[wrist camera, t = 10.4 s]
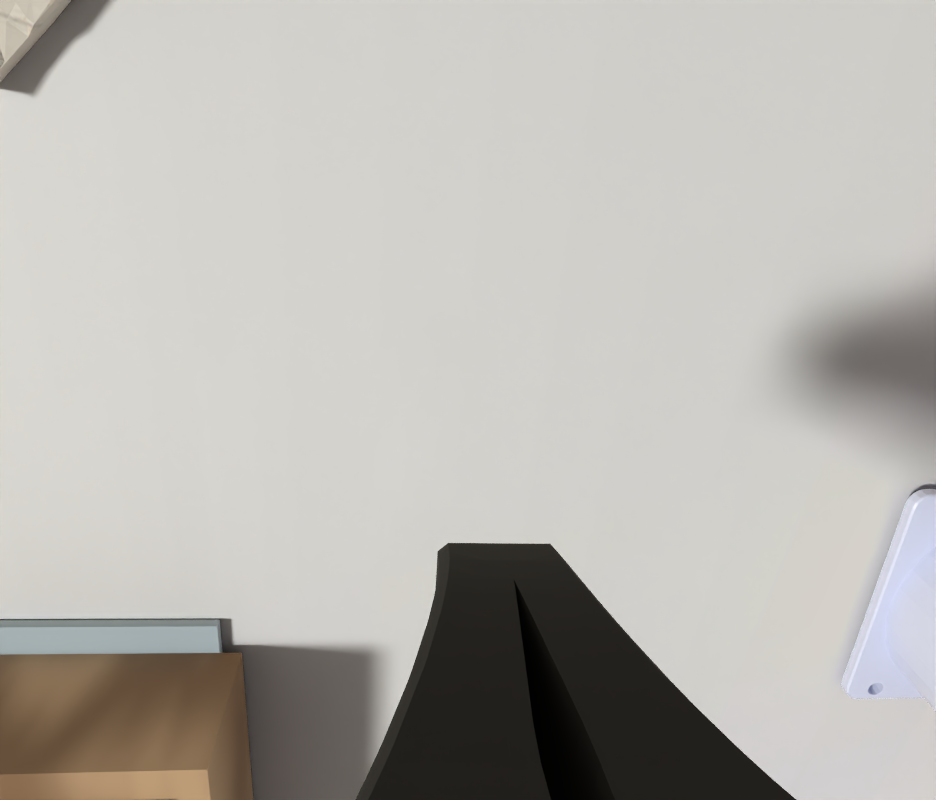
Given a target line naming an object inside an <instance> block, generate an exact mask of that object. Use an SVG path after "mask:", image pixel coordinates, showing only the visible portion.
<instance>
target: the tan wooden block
mask: <svg viewBox="0 0 936 800" xmlns="http://www.w3.org/2000/svg"><path fill="white" fill-rule="evenodd" d="M0 800H253V789H252V776H251V763H250V750H249V737H248V724H247V711H246V699H245V686H244V673H243V660H242V653H139V654H6V655H0Z"/></svg>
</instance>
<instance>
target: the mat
mask: <svg viewBox="0 0 936 800" xmlns="http://www.w3.org/2000/svg"><path fill="white" fill-rule="evenodd" d="M139 653H223V651H222V640H221V629H220V619H219V620H0V655H6V654H139Z"/></svg>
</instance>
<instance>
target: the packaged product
mask: <svg viewBox="0 0 936 800" xmlns="http://www.w3.org/2000/svg"><path fill="white" fill-rule="evenodd" d="M70 2H71V0H0V83H1V81H2V80H3V79H4V78H5V77H6V76H7V75H8V73H9V72H10V71H11V70H12V69H13V68H14V67H15V65H16V64H17V63H18V62H19V61H20V60H21V59H22V58H23V56H24V55H25V54H26V53H27V52H28V51H29V50H30V49H31V47H32V46H33V45H34V44H35V43H36V42H37V41H38V40H39V38H40V37H41V36H42V35H43V34H44V33H45V32H46V31H47V29H48V28H49V27H50V26H51V25H52V24H53V23H54V21H55V20H56V19H57V18H58V16H59V15H60V14H61V13H62V11H63V10H64V9H65V8H66V6H67V5H68V4H69V3H70Z"/></svg>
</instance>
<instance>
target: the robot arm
mask: <svg viewBox="0 0 936 800" xmlns="http://www.w3.org/2000/svg"><path fill="white" fill-rule="evenodd" d="M841 687H842V689H843V690H844V692H845V693H846V694H847V696H849V697H850V698H852V699H901V698H924V699H925V700H926V701H927V702H928V703H929V704H930V706H931V707H932V708H933V709H934V710H935V711H936V489H922V490H919V491H917V492H915V493H913V494H912V495H911V496H910V497H909V498H908V500H907V502H906V504H905V506H904V509H903V512H902V515H901V518H900V520H899V523H898V526H897V529H896V531H895V534H894V537H893V540H892V543H891V545H890V548H889V551H888V554H887V556H886V559H885V562H884V565H883V568H882V570H881V573H880V576H879V579H878V581H877V584H876V587H875V590H874V592H873V595H872V598H871V601H870V604H869V606H868V609H867V612H866V615H865V617H864V620H863V623H862V626H861V629H860V631H859V634H858V637H857V640H856V642H855V645H854V648H853V651H852V654H851V656H850V659H849V662H848V665H847V667H846V670H845V673H844V676H843V679H842V682H841ZM356 800H796V799H795V798H794V797H792V796H791V795H790V794H789V793H788V792H787V791H785V790H784V789H783V788H782V787H781V786H779V785H778V784H777V783H776V782H775V781H774V780H773V779H771V778H770V777H769V776H768V775H767V774H766V773H765V772H764V771H763V770H762V769H760V768H759V767H758V766H757V765H756V764H755V763H754V762H753V761H752V760H750V759H749V758H748V757H747V756H746V755H745V754H744V753H743V752H742V751H741V750H740V749H739V748H737V747H736V746H735V745H734V744H733V743H732V742H731V741H730V740H729V739H728V738H727V737H726V736H725V735H724V734H723V733H722V732H721V731H720V730H719V729H718V728H717V727H716V726H715V725H714V724H713V723H712V722H711V721H710V720H709V719H708V718H707V717H706V716H705V715H704V714H702V713H701V712H700V711H699V710H698V709H697V708H696V707H695V706H694V705H693V704H692V703H691V702H690V701H689V700H688V699H687V697H686V696H685V695H684V694H683V693H682V692H681V691H680V690H679V689H678V688H677V687H676V686H675V685H674V684H673V683H672V682H671V681H670V680H669V679H668V678H667V677H666V676H665V674H664V673H663V672H662V671H661V670H660V669H659V668H658V667H657V666H656V665H655V664H654V663H653V661H652V660H651V659H650V658H649V657H648V656H647V655H646V654H645V653H644V652H643V651H642V650H641V648H640V647H639V646H638V645H637V644H636V643H635V642H634V641H633V640H632V639H631V638H630V636H629V635H628V634H627V633H626V632H625V631H624V630H623V629H622V627H621V626H620V625H619V624H618V623H617V622H616V621H615V619H614V618H613V617H612V616H611V615H610V614H609V612H608V611H607V610H606V609H605V608H604V607H603V605H602V604H601V603H600V602H599V601H598V600H597V598H596V597H595V596H594V595H593V594H592V593H591V591H590V590H589V589H588V588H587V587H586V585H585V584H584V583H583V582H582V581H581V579H580V578H579V577H578V576H577V575H576V573H575V572H574V571H573V570H572V569H571V567H570V566H569V565H568V564H567V563H566V561H565V560H564V559H563V558H562V557H561V556H560V554H559V553H558V552H557V551H556V550H555V549H554V548H553V547H552V545H551V544H487V543H448V544H447V545H445V546H444V547H443V548H442V549H440V550H439V551H438V558H437V575H436V591H435V596H434V600H433V604H432V608H431V612H430V616H429V620H428V623H427V626H426V629H425V632H424V635H423V639H422V642H421V645H420V648H419V651H418V654H417V657H416V660H415V663H414V666H413V669H412V672H411V675H410V677H409V680H408V683H407V685H406V688H405V690H404V692H403V695H402V697H401V700H400V702H399V704H398V707H397V709H396V712H395V714H394V716H393V719H392V721H391V724H390V726H389V728H388V731H387V733H386V736H385V738H384V740H383V743H382V745H381V747H380V750H379V752H378V754H377V756H376V758H375V760H374V763H373V765H372V767H371V769H370V771H369V773H368V775H367V778H366V780H365V782H364V784H363V786H362V788H361V790H360V792H359V794H358V796H357V798H356Z"/></svg>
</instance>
